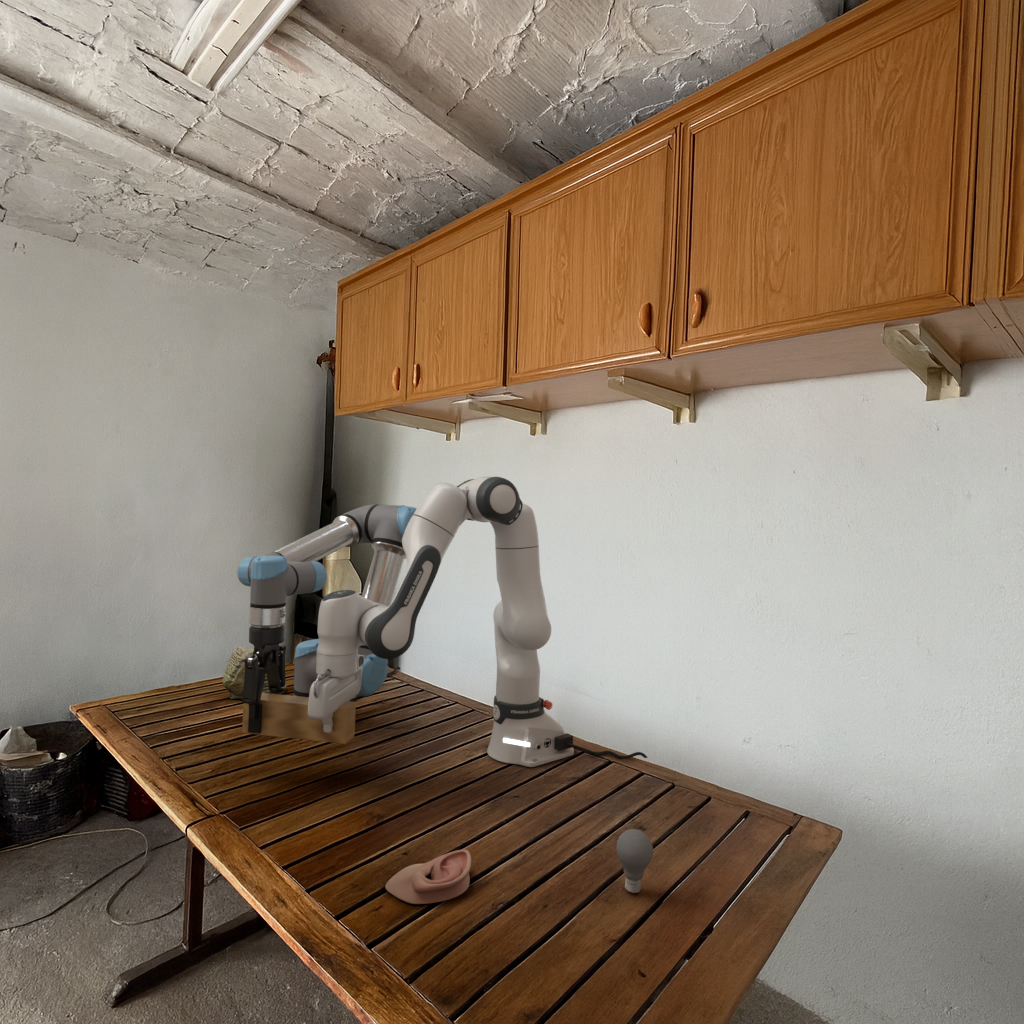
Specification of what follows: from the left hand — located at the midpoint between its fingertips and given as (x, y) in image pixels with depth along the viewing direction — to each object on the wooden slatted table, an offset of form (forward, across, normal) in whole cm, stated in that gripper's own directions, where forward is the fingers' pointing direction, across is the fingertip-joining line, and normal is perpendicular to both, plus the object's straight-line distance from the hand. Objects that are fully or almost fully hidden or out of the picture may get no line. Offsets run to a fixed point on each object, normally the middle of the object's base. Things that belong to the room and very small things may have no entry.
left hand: (263, 726), depth 143 cm
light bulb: (+11, -25, -82) cm, 86 cm away
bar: (+1, 0, -8) cm, 8 cm away
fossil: (+11, +51, +32) cm, 61 cm away
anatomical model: (+11, -31, -48) cm, 58 cm away
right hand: (-2, 0, -17) cm, 17 cm away
